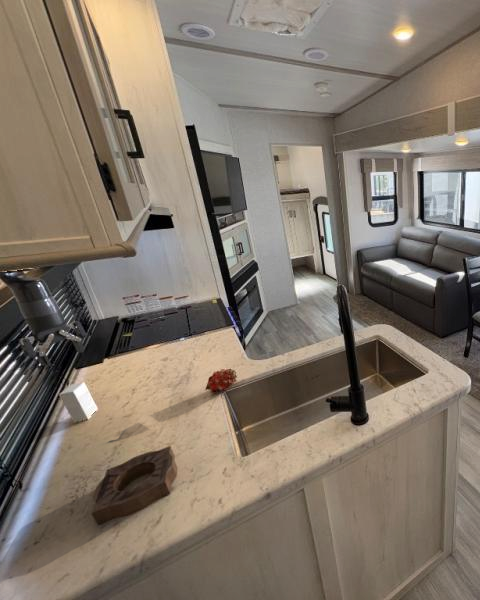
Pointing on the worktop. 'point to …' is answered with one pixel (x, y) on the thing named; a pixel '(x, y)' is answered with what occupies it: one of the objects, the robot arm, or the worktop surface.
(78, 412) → the cosmetic box
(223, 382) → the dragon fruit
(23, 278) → the robot arm
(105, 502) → the hole block
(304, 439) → the worktop surface
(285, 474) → the worktop surface
